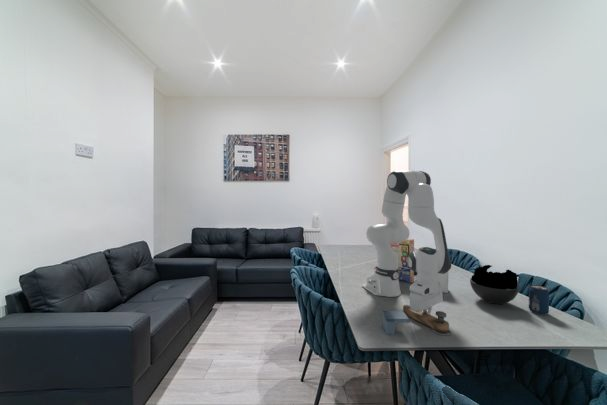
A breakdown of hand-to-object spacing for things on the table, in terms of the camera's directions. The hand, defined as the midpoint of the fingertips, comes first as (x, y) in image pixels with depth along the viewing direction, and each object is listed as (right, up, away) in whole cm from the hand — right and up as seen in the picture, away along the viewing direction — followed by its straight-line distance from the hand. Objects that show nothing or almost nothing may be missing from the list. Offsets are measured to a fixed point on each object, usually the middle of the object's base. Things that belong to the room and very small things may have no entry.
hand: (426, 316), depth 111 cm
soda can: (+56, -2, +7) cm, 56 cm away
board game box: (+8, -1, +56) cm, 57 cm away
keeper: (-17, -2, -8) cm, 19 cm away
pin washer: (+1, -2, -9) cm, 9 cm away
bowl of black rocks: (+43, -1, +19) cm, 47 cm away
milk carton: (+25, -1, +35) cm, 43 cm away
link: (-2, -1, -2) cm, 3 cm away
